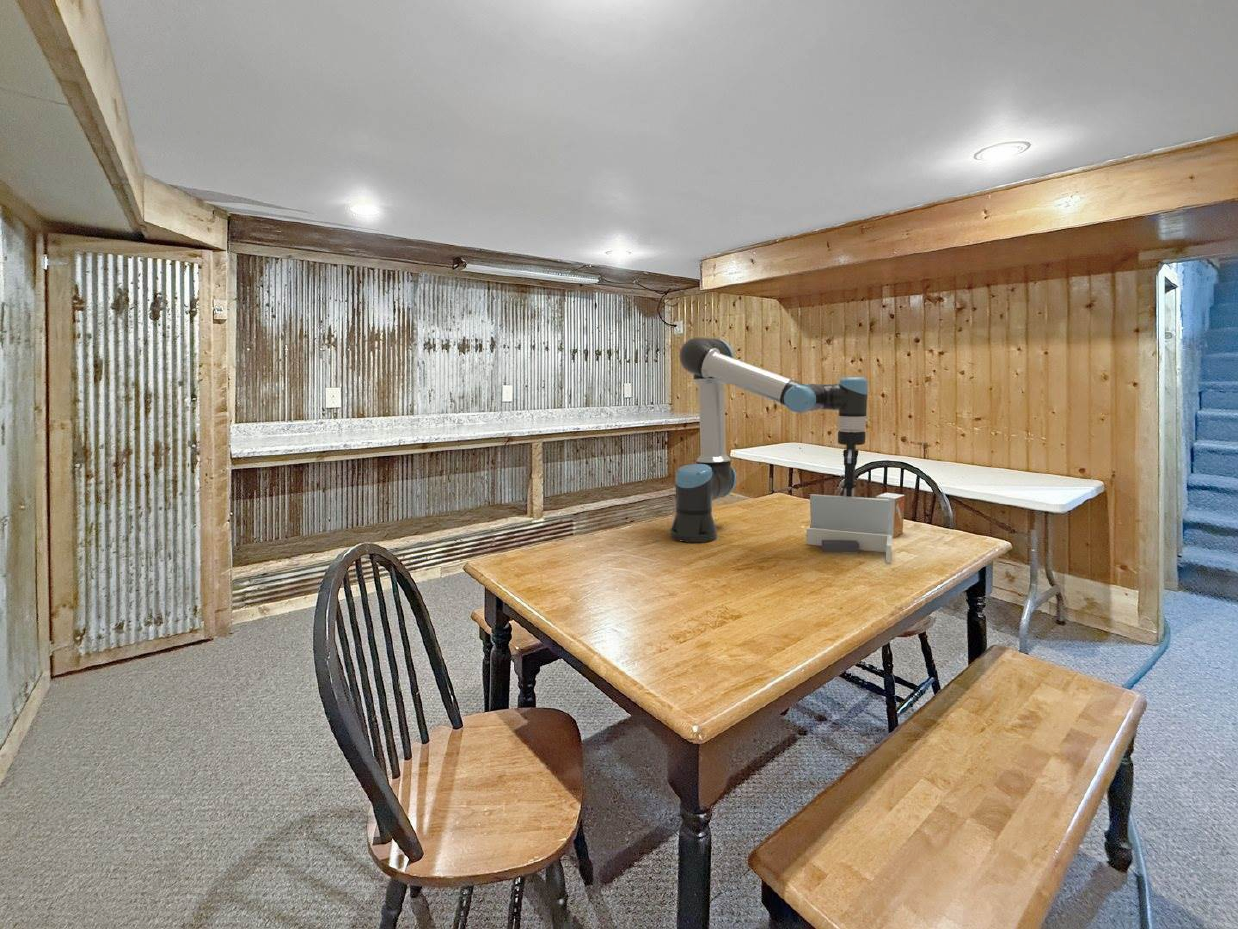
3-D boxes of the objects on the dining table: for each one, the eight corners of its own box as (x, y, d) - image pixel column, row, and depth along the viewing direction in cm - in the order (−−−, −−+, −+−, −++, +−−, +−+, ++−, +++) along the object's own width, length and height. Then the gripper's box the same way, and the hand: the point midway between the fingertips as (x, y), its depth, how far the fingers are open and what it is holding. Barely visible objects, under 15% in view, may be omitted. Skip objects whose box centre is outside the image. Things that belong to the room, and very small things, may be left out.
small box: (893, 538, 188) (895, 498, 186) (873, 534, 192) (875, 495, 190) (903, 533, 193) (905, 494, 191) (883, 530, 198) (885, 492, 196)
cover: (808, 496, 176) (809, 494, 177) (809, 528, 181) (810, 526, 182) (889, 501, 166) (889, 499, 167) (888, 535, 172) (888, 533, 173)
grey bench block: (800, 553, 173) (801, 537, 172) (807, 541, 186) (808, 525, 185) (890, 563, 163) (891, 545, 162) (891, 549, 176) (891, 533, 175)
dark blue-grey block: (823, 553, 174) (824, 543, 174) (821, 549, 178) (821, 539, 177) (859, 553, 173) (859, 544, 173) (856, 550, 176) (856, 540, 176)
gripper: (864, 433, 164) (860, 515, 167) (866, 428, 175) (863, 505, 179) (836, 432, 167) (833, 513, 171) (839, 428, 179) (837, 503, 182)
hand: (848, 509), depth 175 cm, fingers closed
